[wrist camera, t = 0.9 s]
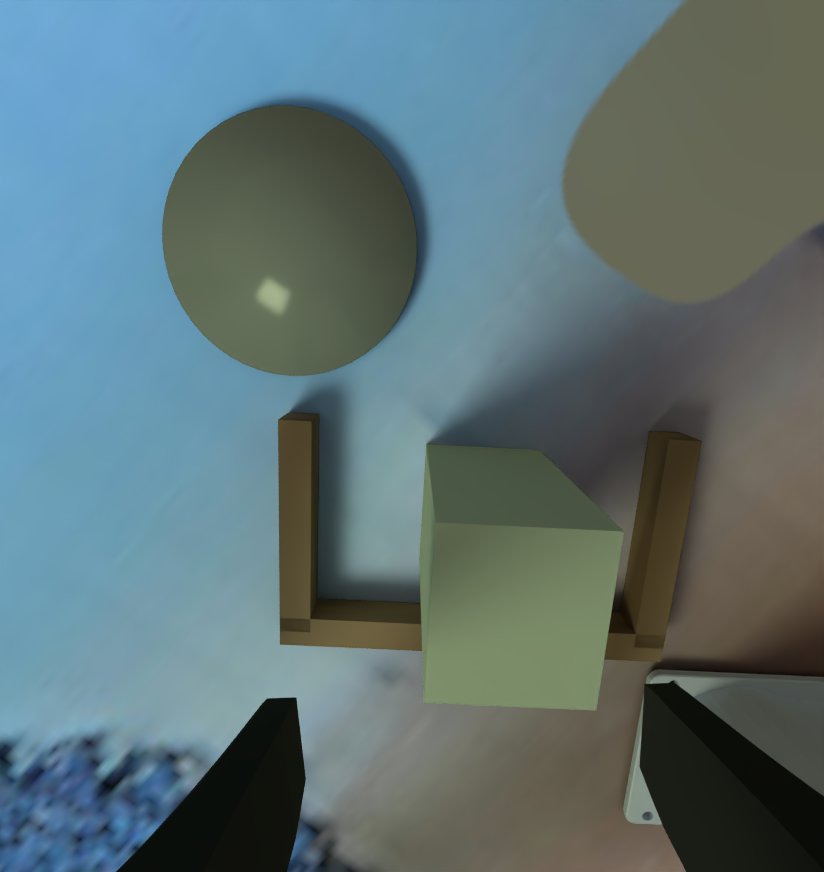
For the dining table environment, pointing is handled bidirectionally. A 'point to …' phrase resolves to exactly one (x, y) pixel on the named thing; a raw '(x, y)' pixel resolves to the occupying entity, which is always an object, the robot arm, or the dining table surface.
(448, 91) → the dining table surface
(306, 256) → the olive flat disc
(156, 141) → the dining table surface
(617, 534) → the block
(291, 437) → the brown u-shaped frame
